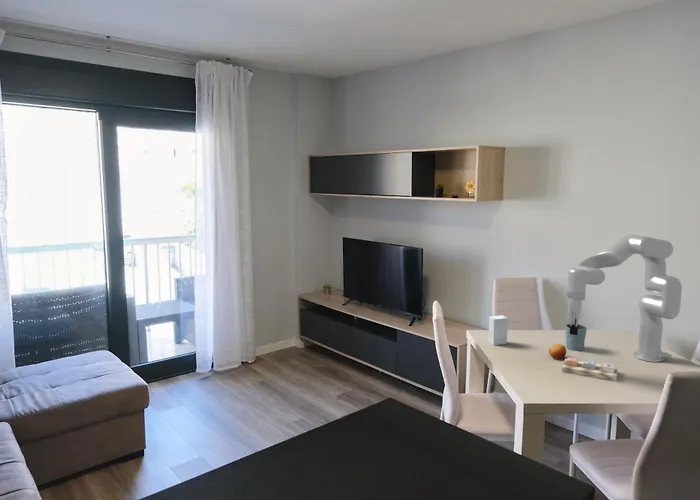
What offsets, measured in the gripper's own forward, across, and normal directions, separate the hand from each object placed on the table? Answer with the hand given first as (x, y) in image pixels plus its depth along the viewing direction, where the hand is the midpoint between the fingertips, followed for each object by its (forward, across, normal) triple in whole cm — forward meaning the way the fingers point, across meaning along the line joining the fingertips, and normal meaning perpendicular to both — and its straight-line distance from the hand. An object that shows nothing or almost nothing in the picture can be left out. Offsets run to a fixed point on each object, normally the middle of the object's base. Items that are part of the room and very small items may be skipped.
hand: (573, 334), depth 225 cm
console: (+17, 0, +8) cm, 18 cm away
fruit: (+17, -13, -8) cm, 23 cm away
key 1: (+15, 0, +15) cm, 21 cm away
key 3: (+15, 0, 0) cm, 15 cm away
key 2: (+15, 0, +8) cm, 16 cm away
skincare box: (+17, -20, -39) cm, 47 cm away
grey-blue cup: (+17, -32, -2) cm, 36 cm away
